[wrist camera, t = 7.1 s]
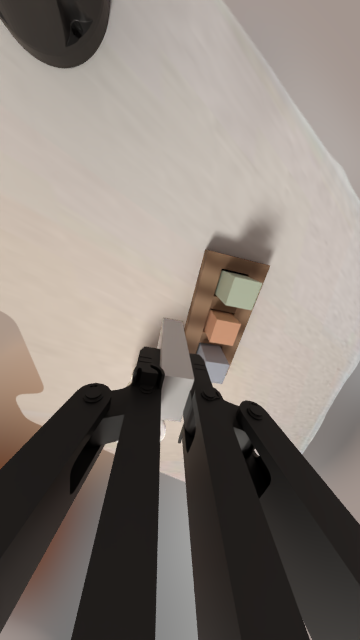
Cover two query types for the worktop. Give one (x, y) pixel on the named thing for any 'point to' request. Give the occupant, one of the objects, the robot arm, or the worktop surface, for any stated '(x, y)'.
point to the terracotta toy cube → (221, 327)
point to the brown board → (208, 299)
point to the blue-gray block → (214, 361)
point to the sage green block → (237, 290)
